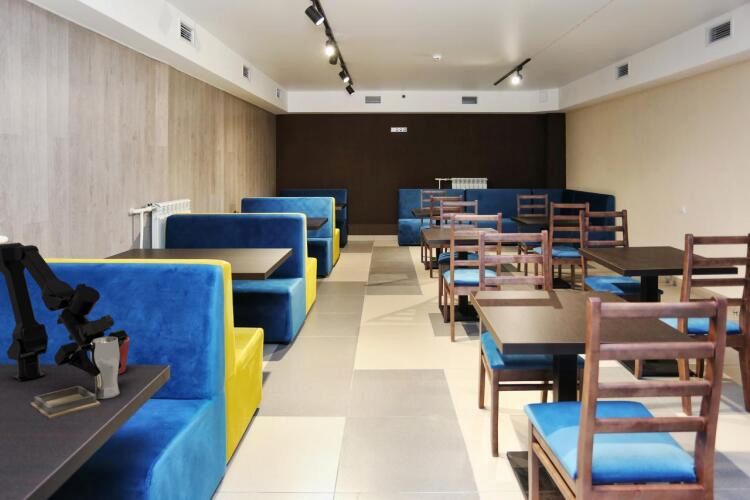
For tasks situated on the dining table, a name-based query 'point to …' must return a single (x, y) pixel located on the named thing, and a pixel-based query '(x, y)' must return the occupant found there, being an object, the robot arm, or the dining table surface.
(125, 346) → the flower pot
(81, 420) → the dining table surface
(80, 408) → the tray
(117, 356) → the beer glass
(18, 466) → the dining table surface
